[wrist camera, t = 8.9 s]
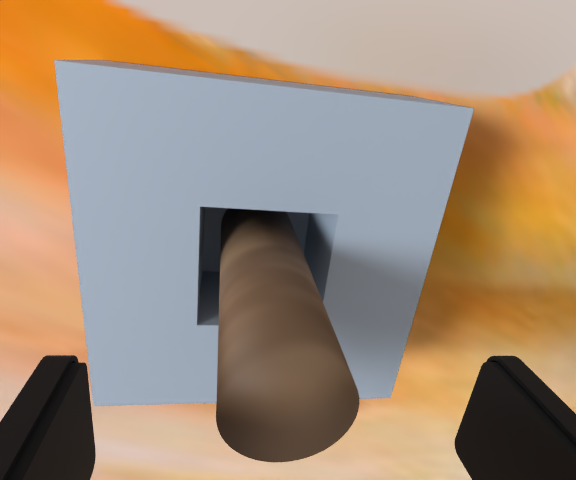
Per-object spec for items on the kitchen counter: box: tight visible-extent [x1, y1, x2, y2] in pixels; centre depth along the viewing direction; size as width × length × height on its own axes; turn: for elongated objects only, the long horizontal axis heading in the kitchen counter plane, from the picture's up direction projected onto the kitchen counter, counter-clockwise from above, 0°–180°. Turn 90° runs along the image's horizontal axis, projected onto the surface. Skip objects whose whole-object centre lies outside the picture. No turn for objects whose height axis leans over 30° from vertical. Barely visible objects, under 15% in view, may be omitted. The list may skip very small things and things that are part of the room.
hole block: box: [54, 60, 474, 406], centre depth 16 cm, size 12×12×4 cm
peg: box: [216, 208, 359, 462], centre depth 13 cm, size 3×3×10 cm
